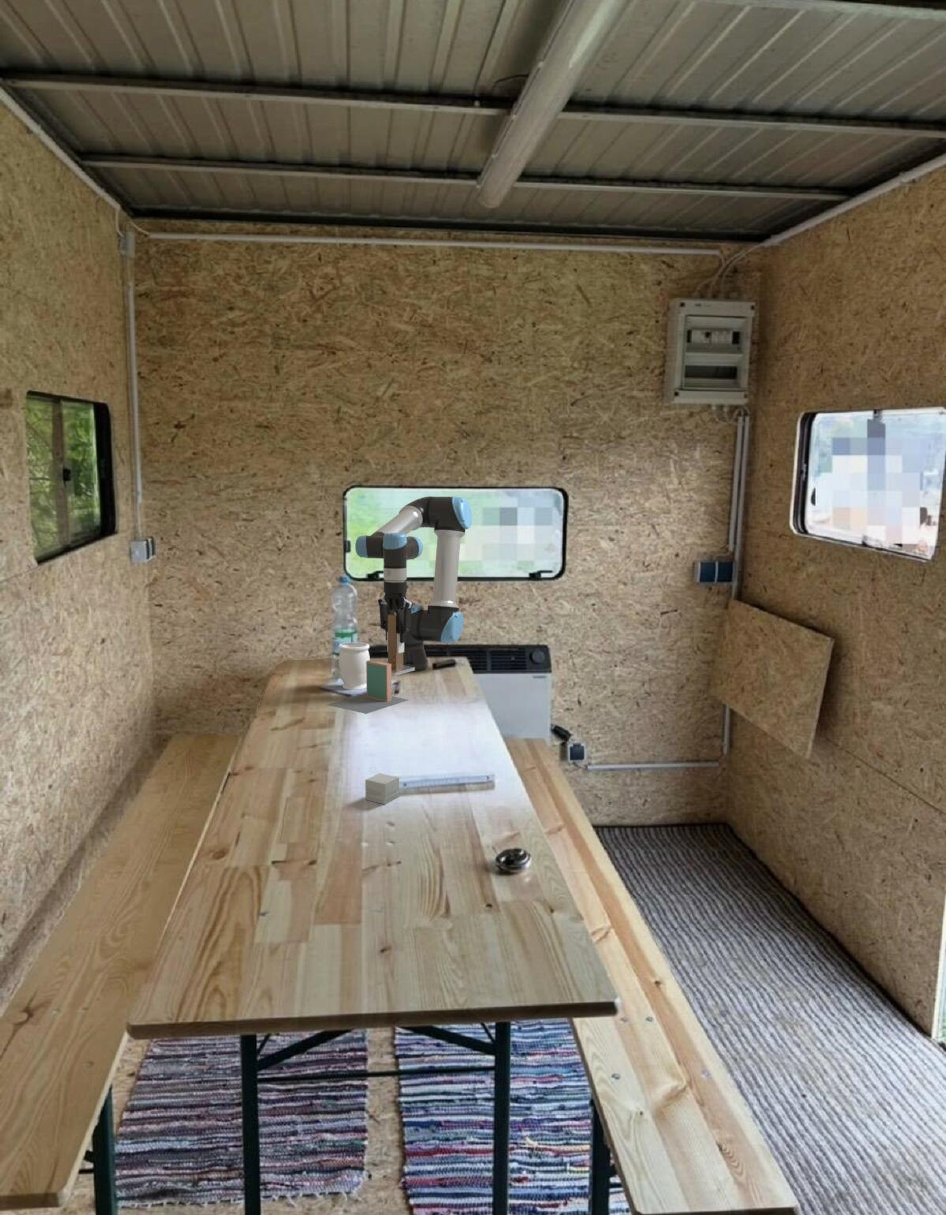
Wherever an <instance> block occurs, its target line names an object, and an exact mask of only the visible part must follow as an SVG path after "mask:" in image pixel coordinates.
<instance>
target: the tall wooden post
mask: <svg viewBox="0 0 946 1215" xmlns="http://www.w3.org/2000/svg"><path fill="white" fill-rule="evenodd" d="M397 632H399V630H398V623H397V615H396V613H394V614H388V651H387V663H389V664H391V676H394V677H395V676H399V675H402V674H407V673H410V672H415V671H414V670H415V667H410V666H405V665H403V652H402V653H397Z"/></svg>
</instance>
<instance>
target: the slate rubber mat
mask: <svg viewBox="0 0 946 1215" xmlns="http://www.w3.org/2000/svg"><path fill="white" fill-rule="evenodd" d="M407 701H409V699H408V698H407V699H406V698H404V697H403V698H402V697H397V696H393V695H392V700H391V701H388V702H386V701H382V700H377V699H372V698H368V697H367V692H365V693H362V694H357V695H354V696H351V697H348V698H344V699H341V700H337V701H335V702H332V703H331V702H330V703H327V704H326V706H331V707H334V708H335V707H336V708H339V709H344V710H349V711H352V712H353V711H354V712H357V713H361V714H366V715H367V714H369V713H374V712H376V711H378V710H379V711H380V710H382V709H385V708H389V707H392V706H395V705H398V704H401V703H404V702H407Z"/></svg>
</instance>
